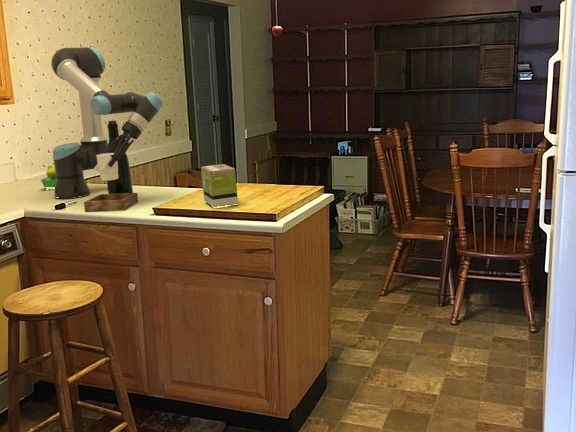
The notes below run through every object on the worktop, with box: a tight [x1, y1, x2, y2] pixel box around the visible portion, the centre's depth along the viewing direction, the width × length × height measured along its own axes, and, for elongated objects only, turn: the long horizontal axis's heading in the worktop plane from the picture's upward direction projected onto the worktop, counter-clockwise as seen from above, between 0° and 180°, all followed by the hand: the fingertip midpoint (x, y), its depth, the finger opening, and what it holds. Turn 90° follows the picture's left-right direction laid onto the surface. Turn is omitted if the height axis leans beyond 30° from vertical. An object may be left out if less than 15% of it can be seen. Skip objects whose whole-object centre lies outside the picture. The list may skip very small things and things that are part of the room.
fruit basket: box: [40, 165, 57, 188], centre depth 307 cm, size 11×9×11 cm
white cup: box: [96, 153, 118, 182], centre depth 249 cm, size 8×8×10 cm
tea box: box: [200, 163, 239, 207], centre depth 243 cm, size 15×10×15 cm
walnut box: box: [83, 192, 139, 213], centre depth 252 cm, size 16×16×4 cm
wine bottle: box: [106, 120, 134, 194], centre depth 272 cm, size 10×10×33 cm
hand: (100, 171), depth 247 cm, fingers closed on white cup, 8 cm apart
